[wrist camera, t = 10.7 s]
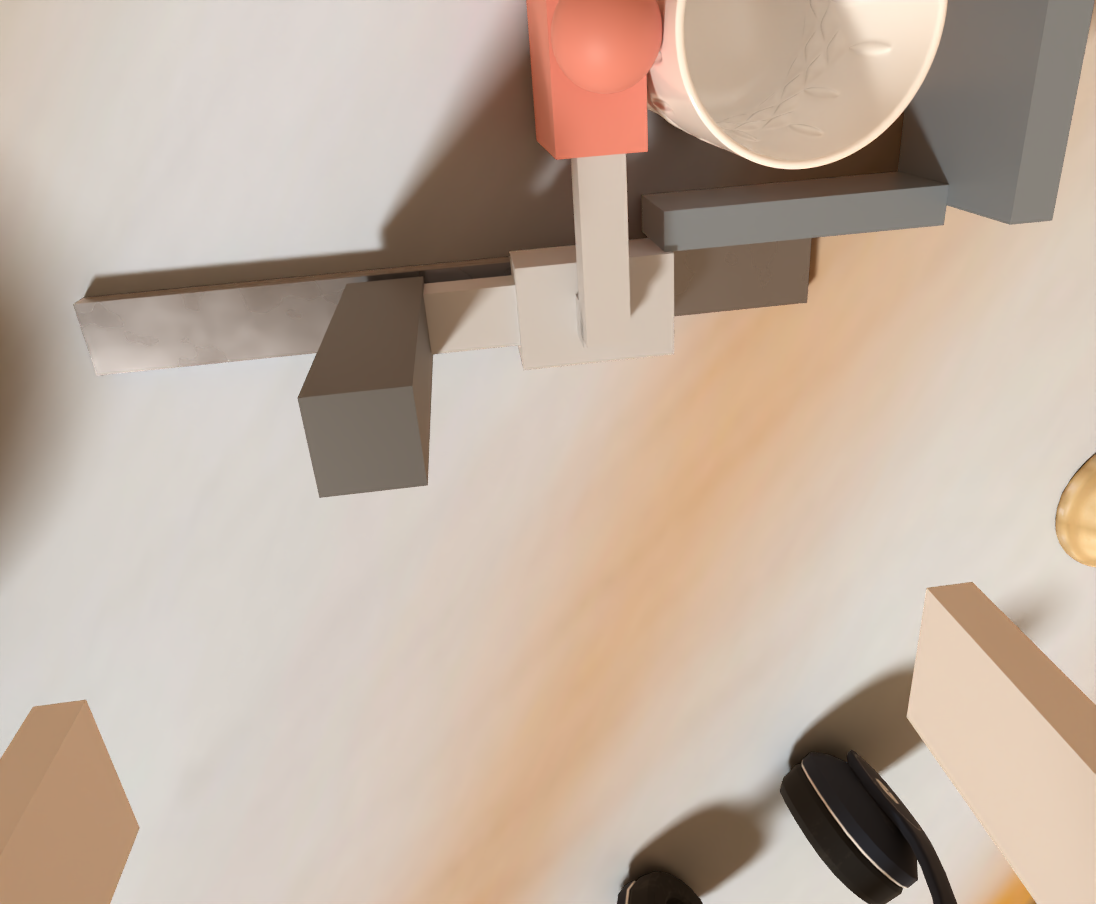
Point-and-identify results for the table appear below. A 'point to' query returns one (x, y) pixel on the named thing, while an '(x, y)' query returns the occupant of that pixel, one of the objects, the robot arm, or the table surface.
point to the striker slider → (536, 274)
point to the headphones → (838, 835)
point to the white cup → (791, 73)
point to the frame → (927, 142)
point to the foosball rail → (310, 301)
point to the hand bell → (1079, 515)
